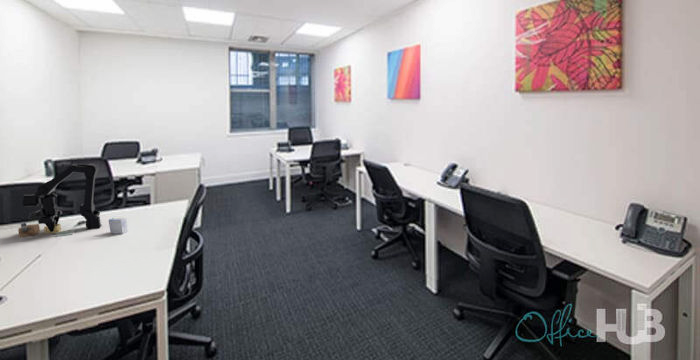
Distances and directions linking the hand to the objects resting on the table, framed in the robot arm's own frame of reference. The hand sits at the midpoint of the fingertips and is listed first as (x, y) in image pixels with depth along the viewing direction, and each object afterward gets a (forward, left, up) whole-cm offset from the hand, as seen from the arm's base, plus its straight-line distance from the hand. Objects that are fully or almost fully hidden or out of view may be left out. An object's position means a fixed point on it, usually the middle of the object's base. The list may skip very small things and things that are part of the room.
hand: (53, 230), depth 198 cm
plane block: (+11, -1, -1) cm, 11 cm away
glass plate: (-7, +7, -1) cm, 10 cm away
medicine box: (-35, +17, -1) cm, 39 cm away
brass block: (0, 0, -1) cm, 1 cm away
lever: (+11, +4, +4) cm, 12 cm away
